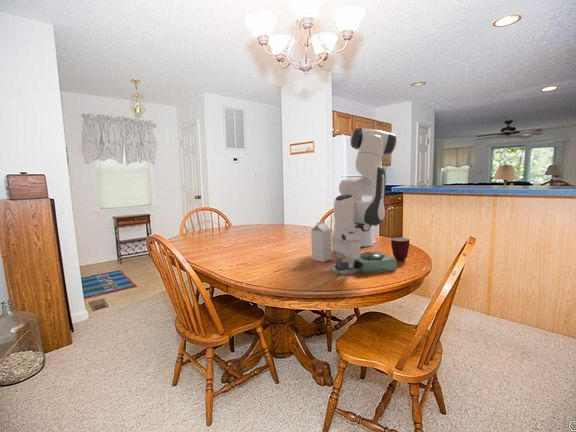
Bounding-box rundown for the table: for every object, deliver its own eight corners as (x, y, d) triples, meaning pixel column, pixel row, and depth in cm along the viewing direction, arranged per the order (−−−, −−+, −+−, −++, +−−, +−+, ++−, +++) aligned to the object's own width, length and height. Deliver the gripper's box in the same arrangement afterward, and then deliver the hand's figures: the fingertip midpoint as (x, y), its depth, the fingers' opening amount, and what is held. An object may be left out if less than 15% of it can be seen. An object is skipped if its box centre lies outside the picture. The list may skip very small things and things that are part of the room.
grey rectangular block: (335, 270, 133) (335, 259, 132) (350, 268, 135) (349, 258, 134) (340, 274, 128) (340, 262, 128) (355, 272, 130) (355, 261, 129)
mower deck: (327, 268, 137) (327, 255, 136) (378, 261, 143) (378, 249, 143) (340, 278, 123) (340, 264, 123) (396, 269, 130) (396, 256, 129)
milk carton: (331, 258, 151) (330, 221, 149) (324, 262, 146) (323, 223, 143) (319, 256, 156) (318, 220, 153) (312, 260, 150) (310, 222, 148)
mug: (411, 264, 137) (411, 242, 136) (392, 263, 139) (392, 242, 138) (407, 257, 147) (408, 237, 146) (390, 257, 149) (390, 237, 148)
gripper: (328, 229, 138) (329, 259, 140) (348, 238, 119) (349, 272, 121) (340, 228, 140) (341, 257, 142) (363, 236, 120) (363, 270, 122)
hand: (345, 264), depth 131 cm, fingers open, 8 cm apart
